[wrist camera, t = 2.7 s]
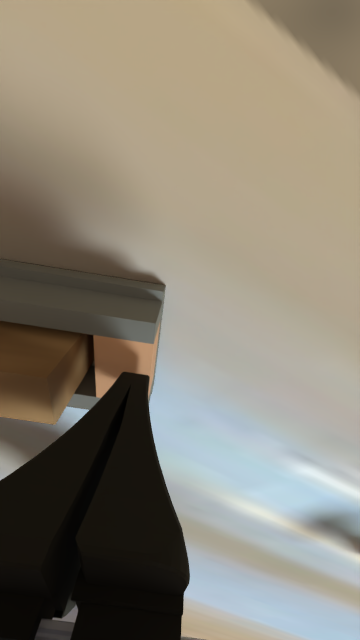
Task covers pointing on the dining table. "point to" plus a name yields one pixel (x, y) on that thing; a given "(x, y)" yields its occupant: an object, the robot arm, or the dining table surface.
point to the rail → (89, 318)
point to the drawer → (40, 370)
